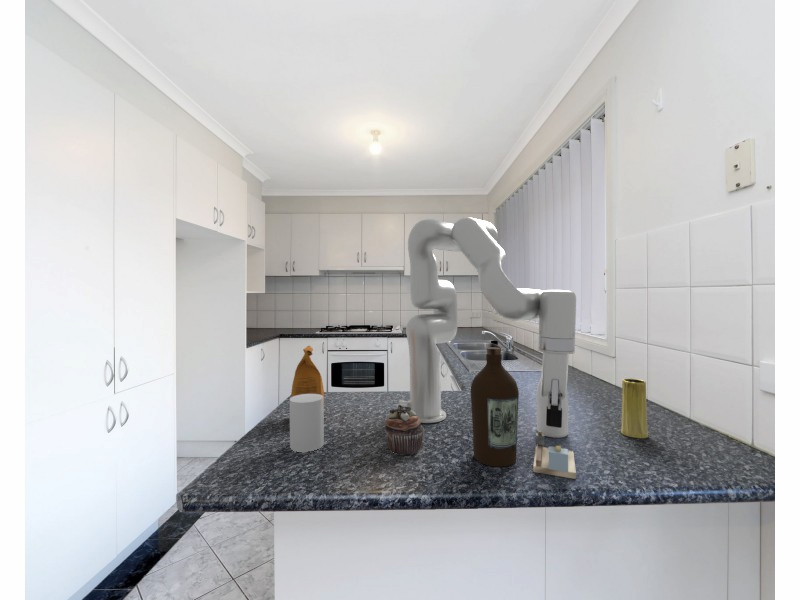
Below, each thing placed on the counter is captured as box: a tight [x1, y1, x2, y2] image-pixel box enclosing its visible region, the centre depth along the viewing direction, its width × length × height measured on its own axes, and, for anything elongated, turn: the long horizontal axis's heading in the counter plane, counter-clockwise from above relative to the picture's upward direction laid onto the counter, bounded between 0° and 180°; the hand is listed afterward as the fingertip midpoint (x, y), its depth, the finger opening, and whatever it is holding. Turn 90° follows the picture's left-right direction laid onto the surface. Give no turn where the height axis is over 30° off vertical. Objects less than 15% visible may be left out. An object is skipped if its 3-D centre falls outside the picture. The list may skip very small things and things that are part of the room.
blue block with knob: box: [548, 445, 569, 472], centre depth 74 cm, size 4×3×4 cm
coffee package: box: [290, 345, 325, 409], centre depth 109 cm, size 10×12×22 cm
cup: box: [289, 394, 325, 452], centre depth 90 cm, size 8×8×12 cm
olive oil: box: [470, 346, 520, 468], centre depth 82 cm, size 11×11×25 cm
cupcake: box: [384, 404, 425, 455], centre depth 88 cm, size 10×10×10 cm
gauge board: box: [532, 431, 577, 480], centre depth 79 cm, size 8×11×5 cm
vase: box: [620, 378, 649, 439], centre depth 96 cm, size 6×6×14 cm
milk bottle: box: [536, 375, 569, 439], centre depth 97 cm, size 8×8×20 cm
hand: (553, 425), depth 82 cm, fingers closed
